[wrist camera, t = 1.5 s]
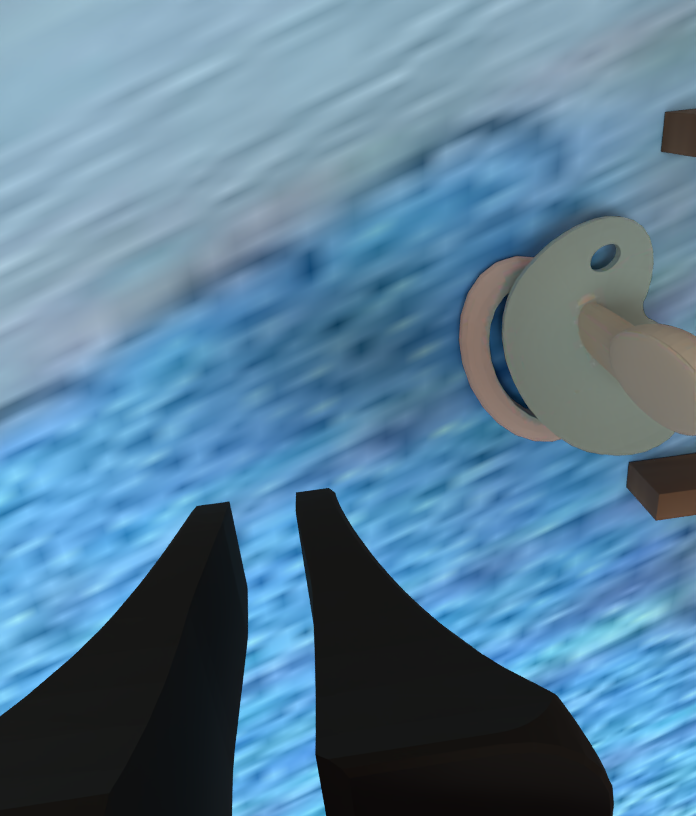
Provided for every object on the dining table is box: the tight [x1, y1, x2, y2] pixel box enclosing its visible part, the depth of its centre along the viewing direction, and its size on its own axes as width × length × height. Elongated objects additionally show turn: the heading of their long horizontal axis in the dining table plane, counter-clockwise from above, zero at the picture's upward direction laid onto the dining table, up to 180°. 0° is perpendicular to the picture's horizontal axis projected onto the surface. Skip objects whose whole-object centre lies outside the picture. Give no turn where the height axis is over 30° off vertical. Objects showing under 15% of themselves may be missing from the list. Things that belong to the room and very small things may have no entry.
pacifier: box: [459, 216, 696, 456], centre depth 18 cm, size 7×6×6 cm
